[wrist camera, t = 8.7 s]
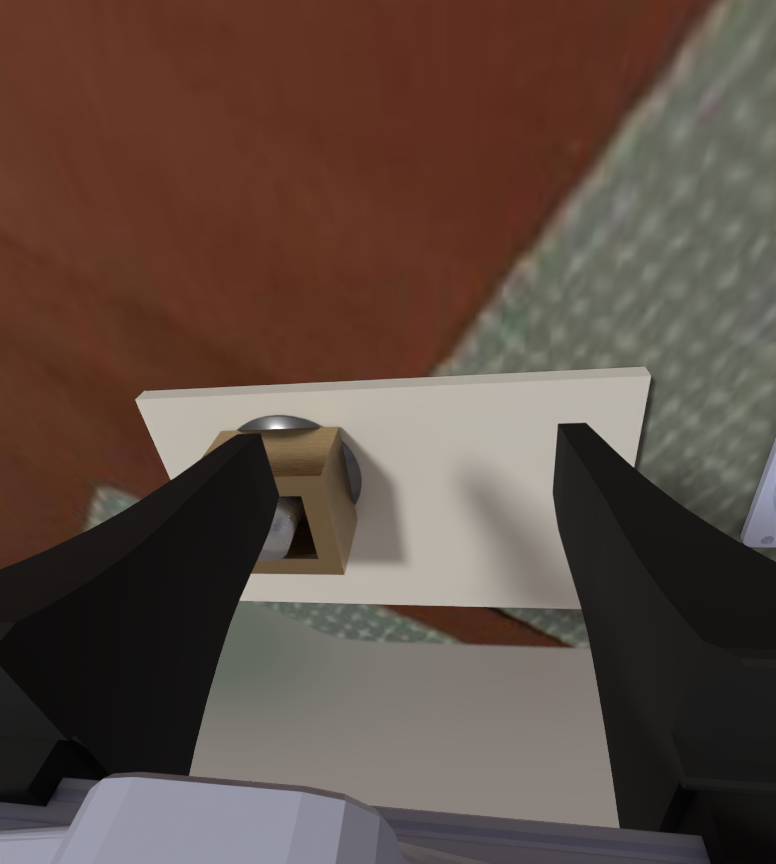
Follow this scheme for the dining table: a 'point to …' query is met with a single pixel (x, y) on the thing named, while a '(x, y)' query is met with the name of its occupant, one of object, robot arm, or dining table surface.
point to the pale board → (430, 476)
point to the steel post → (293, 506)
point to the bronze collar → (310, 497)
